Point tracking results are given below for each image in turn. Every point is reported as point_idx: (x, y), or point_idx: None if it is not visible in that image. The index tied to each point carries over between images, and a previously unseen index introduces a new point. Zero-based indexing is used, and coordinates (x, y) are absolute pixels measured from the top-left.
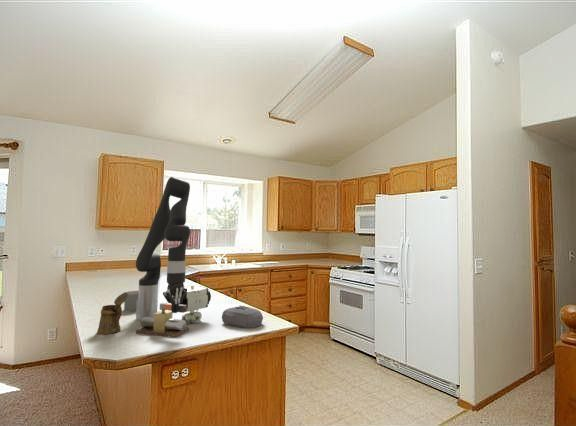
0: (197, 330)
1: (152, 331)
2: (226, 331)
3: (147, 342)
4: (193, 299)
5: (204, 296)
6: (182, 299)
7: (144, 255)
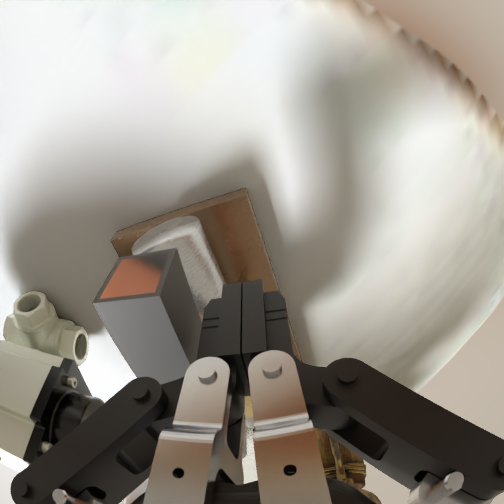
0: (84, 196)
1: (289, 327)
2: (11, 61)
3: (381, 243)
4: (1, 392)
5: None
6: (125, 395)
7: None
